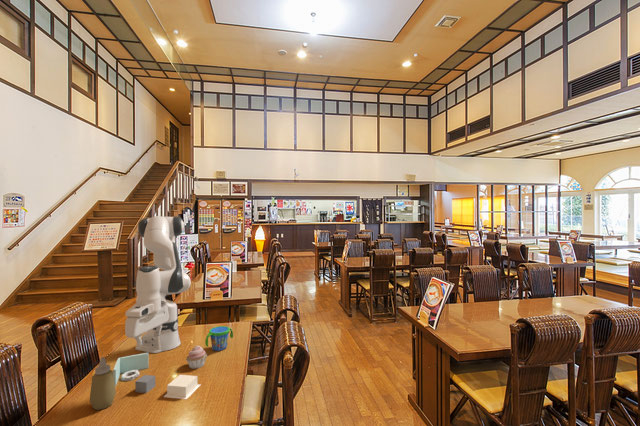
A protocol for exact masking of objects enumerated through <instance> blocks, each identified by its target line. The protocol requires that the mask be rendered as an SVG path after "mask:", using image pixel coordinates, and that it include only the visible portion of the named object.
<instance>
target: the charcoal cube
mask: <svg viewBox="0 0 640 426" xmlns="http://www.w3.org/2000/svg"><path fill="white" fill-rule="evenodd" d="M155 387H156V375H149V374H144V375H142V376H141V377H139V378H138V379H137V380H135V393H140V394H141V393H142V394H147V393H149V392H150V391H151V390H152V389H154V388H155Z"/></svg>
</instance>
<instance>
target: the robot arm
mask: <svg viewBox="0 0 640 426" xmlns="http://www.w3.org/2000/svg"><path fill="white" fill-rule="evenodd" d="M184 229H185V223H184V220H183V218H182V217H180V216H161V215H154V216H152V217H146V218H145V217H144V218H142V219H140V221H139V222H138V224H137V232H138V234H139V236H140V237H142V238H143V246H144V248H145V249H146V250H148V251H149V252H150V253H153V264H154V265H144V266H141V267H140V268H138V270H137V274H136V278H135V280H134V290H135V291H136V293H137V294H136V295H137V296H136V299H135V302H136V303H134V304H133V305H132V306H131V307H130V308H129V309H127V310H126V311H125V317H126V319H125V322H124V325H125V327H124V331H125V332H124V333H125V336H126V337H127V338H130V339H131V338H133V339H134V340H135V341H136V346H135V351H140V352H141V351H142V352H144V353H151V354H157V353H162V352H167V351H170V350H173V349H176V348H178V347H179V346H180V345H181V340H180V334H179V318H178V305H177V303H176V302H174V301H172V300H169V299H166V296H169V295H175V294H181V293H184V292H186V291H188V290H189V288H190V287H191V284H192V279H191V278H190V276H189V275H188V273H186V272H184V271H183V270H182V267H181V266H182V265H181V261H180V256H179V251H178V247H177V244H176V241H175V240H176V239H177V238H178V236H181V234H183V231H184ZM160 269H161V270H160ZM142 334H143V335H142Z"/></svg>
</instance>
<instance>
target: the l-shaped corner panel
mask: <svg viewBox="0 0 640 426" xmlns="http://www.w3.org/2000/svg"><path fill="white" fill-rule="evenodd" d="M149 361H150V360H149V352H144V353H139V354H132V355H127V356H122V357H118V358H117V360H116V362H115V364H114V367H113V369H112V371H113V375H114V383H115V387H116V386H117V384H118V382H119V378H120V380H121V381H124V382H129V381H133V380H135V379H137V378H138V377H139V376H140V371H141V370H146V369H149V364H150V363H149ZM120 375H121V377H120Z"/></svg>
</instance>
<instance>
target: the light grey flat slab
mask: <svg viewBox="0 0 640 426" xmlns="http://www.w3.org/2000/svg"><path fill="white" fill-rule="evenodd" d="M200 386H201V384H199V383H197V387H196V388H195V389H194V390H193V391H192V392H191V393H190V394H189V395H188V396H187V397H177V396H167V393H166V394H165V395H164V396H163V398H170V399H179V400H180V399H181V400H187V399H188V398H190V396H191V395H193V393H194V392H195V391H196V390H197V389H199V387H200Z"/></svg>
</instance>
